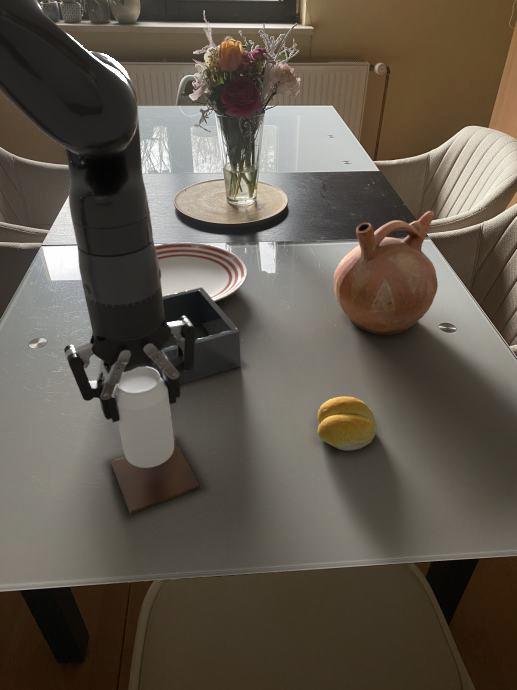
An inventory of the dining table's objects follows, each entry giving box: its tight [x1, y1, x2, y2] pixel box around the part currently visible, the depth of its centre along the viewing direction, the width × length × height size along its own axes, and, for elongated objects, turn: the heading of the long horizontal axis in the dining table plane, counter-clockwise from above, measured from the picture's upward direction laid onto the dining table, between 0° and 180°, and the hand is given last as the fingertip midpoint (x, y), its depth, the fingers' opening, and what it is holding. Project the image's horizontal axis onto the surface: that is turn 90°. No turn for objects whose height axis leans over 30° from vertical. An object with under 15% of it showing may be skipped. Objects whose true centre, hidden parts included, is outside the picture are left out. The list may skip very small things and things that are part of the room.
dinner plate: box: [154, 242, 248, 303], centre depth 111 cm, size 27×27×3 cm
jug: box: [333, 210, 439, 336], centre depth 95 cm, size 18×18×20 cm
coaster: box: [110, 439, 200, 515], centre depth 69 cm, size 9×9×1 cm
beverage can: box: [113, 366, 175, 468], centre depth 64 cm, size 6×6×12 cm
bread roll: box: [317, 396, 378, 452], centre depth 75 cm, size 8×9×4 cm
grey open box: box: [147, 287, 241, 386], centre depth 89 cm, size 16×16×7 cm
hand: (142, 408), depth 63 cm, fingers closed on beverage can, 6 cm apart
